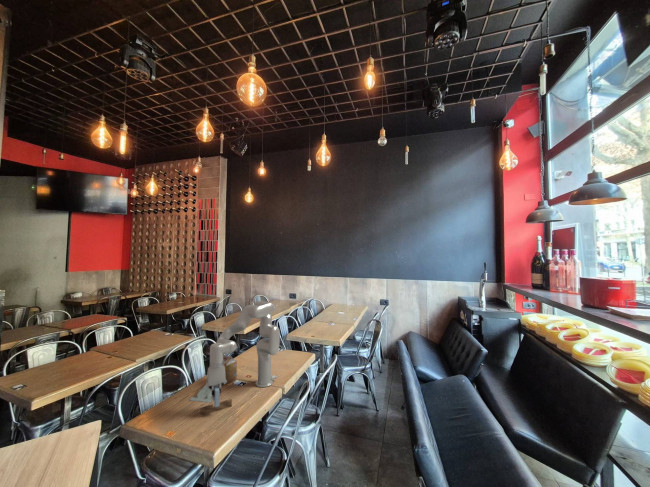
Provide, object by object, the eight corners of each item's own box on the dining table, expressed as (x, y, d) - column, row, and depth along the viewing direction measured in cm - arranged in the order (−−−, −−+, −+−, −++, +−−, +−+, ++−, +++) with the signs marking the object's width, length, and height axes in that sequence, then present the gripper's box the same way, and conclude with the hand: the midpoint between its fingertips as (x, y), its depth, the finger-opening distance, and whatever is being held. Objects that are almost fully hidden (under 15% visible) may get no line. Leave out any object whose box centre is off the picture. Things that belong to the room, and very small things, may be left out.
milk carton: (236, 379, 197) (236, 354, 198) (225, 386, 187) (225, 359, 188) (226, 377, 201) (226, 352, 202) (215, 382, 192) (215, 356, 193)
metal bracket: (201, 382, 181) (221, 384, 178) (203, 389, 182) (222, 391, 179) (187, 399, 167) (208, 401, 164) (189, 407, 168) (209, 409, 165)
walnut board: (231, 405, 162) (231, 398, 162) (231, 406, 161) (231, 399, 161) (199, 414, 153) (199, 407, 153) (199, 416, 152) (199, 409, 152)
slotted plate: (212, 399, 161) (212, 384, 161) (216, 398, 162) (216, 383, 162) (215, 407, 152) (215, 391, 153) (219, 406, 154) (219, 390, 154)
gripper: (228, 359, 166) (228, 389, 165) (201, 365, 157) (200, 396, 156) (231, 363, 159) (231, 394, 158) (202, 369, 151) (202, 402, 150)
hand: (216, 395), depth 157 cm, fingers closed on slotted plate, 2 cm apart
